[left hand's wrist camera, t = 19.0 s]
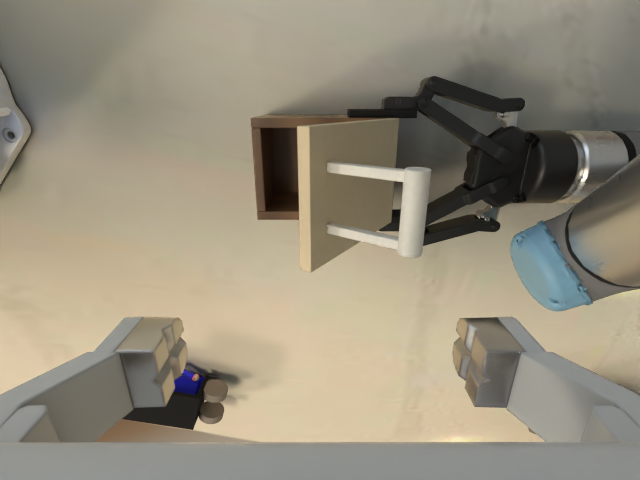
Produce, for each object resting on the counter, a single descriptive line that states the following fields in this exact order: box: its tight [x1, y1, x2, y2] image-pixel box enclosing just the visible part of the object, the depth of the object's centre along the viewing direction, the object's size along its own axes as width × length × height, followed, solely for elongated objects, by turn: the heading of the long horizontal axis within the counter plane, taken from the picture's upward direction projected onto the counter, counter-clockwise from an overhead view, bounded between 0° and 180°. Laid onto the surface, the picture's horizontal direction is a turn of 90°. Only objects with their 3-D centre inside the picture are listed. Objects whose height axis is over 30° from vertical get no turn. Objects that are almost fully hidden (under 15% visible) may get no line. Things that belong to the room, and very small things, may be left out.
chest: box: [251, 115, 386, 220], centre depth 39 cm, size 14×10×9 cm
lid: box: [297, 118, 431, 272], centre depth 27 cm, size 14×10×8 cm
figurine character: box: [122, 369, 228, 430], centre depth 53 cm, size 7×8×15 cm
